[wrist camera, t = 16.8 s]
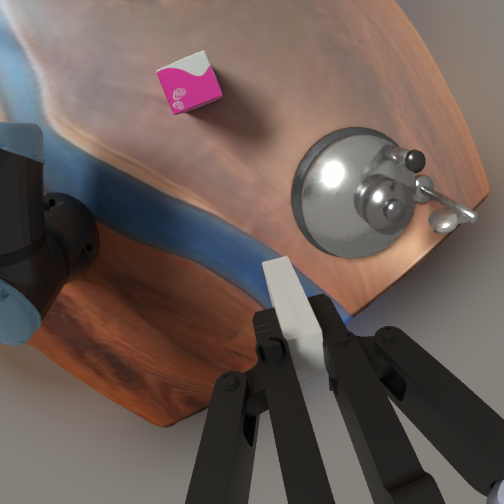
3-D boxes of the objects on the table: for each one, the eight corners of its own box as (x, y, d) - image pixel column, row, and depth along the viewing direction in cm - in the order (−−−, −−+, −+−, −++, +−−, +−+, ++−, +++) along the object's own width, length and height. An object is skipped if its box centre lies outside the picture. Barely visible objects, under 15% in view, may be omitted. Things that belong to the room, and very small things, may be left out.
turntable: (278, 230, 48) (293, 260, 39) (332, 111, 40) (362, 113, 31) (375, 266, 53) (401, 296, 44) (426, 168, 45) (462, 184, 37)
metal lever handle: (396, 218, 50) (446, 257, 37) (387, 196, 48) (440, 230, 35) (433, 193, 49) (488, 223, 35) (426, 170, 47) (484, 196, 33)
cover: (345, 211, 45) (362, 227, 40) (368, 165, 42) (388, 174, 37) (383, 229, 47) (402, 245, 42) (405, 186, 44) (427, 198, 39)
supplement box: (169, 78, 37) (154, 68, 27) (209, 63, 36) (207, 47, 26) (183, 114, 39) (173, 115, 29) (223, 98, 39) (226, 94, 29)
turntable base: (328, 276, 54) (330, 279, 53) (263, 173, 45) (265, 174, 44) (423, 213, 51) (427, 215, 50) (380, 104, 41) (383, 104, 40)
